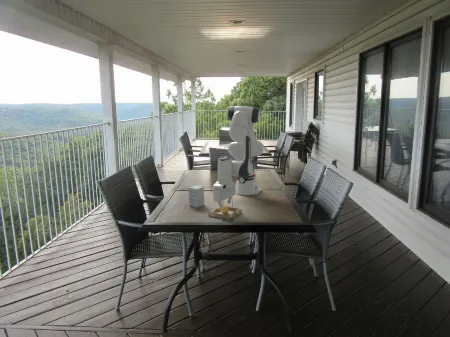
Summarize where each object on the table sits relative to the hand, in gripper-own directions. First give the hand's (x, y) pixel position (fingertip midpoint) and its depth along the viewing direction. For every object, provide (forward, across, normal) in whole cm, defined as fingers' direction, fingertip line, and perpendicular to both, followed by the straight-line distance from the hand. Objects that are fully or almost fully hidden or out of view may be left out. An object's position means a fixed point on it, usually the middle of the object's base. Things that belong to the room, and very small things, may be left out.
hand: (225, 205), depth 214 cm
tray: (+6, 0, 0) cm, 6 cm away
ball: (+2, 0, 0) cm, 2 cm away
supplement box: (+6, -6, -26) cm, 27 cm away
